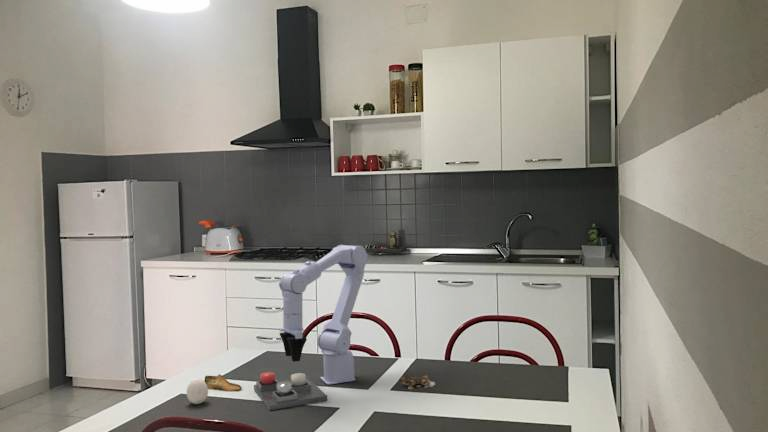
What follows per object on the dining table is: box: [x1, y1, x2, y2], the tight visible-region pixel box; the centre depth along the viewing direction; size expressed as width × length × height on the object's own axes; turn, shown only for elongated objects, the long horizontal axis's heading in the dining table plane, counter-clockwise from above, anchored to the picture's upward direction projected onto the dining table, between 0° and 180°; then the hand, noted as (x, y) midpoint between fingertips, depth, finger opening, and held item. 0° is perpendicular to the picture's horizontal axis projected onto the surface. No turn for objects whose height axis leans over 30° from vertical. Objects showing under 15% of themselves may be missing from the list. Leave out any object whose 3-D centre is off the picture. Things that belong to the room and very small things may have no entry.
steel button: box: [277, 382, 292, 395], centre depth 189 cm, size 4×4×2 cm
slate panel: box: [253, 376, 328, 411], centre depth 197 cm, size 17×21×3 cm
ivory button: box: [290, 372, 307, 386], centre depth 198 cm, size 4×4×2 cm
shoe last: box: [203, 374, 242, 392], centre depth 206 cm, size 4×14×5 cm, turn 65°
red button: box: [259, 371, 276, 384], centre depth 200 cm, size 4×4×2 cm
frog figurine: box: [400, 374, 436, 390], centre depth 202 cm, size 12×12×4 cm
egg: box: [186, 377, 209, 405], centre depth 192 cm, size 6×6×8 cm
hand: (292, 358), depth 197 cm, fingers open, 7 cm apart
